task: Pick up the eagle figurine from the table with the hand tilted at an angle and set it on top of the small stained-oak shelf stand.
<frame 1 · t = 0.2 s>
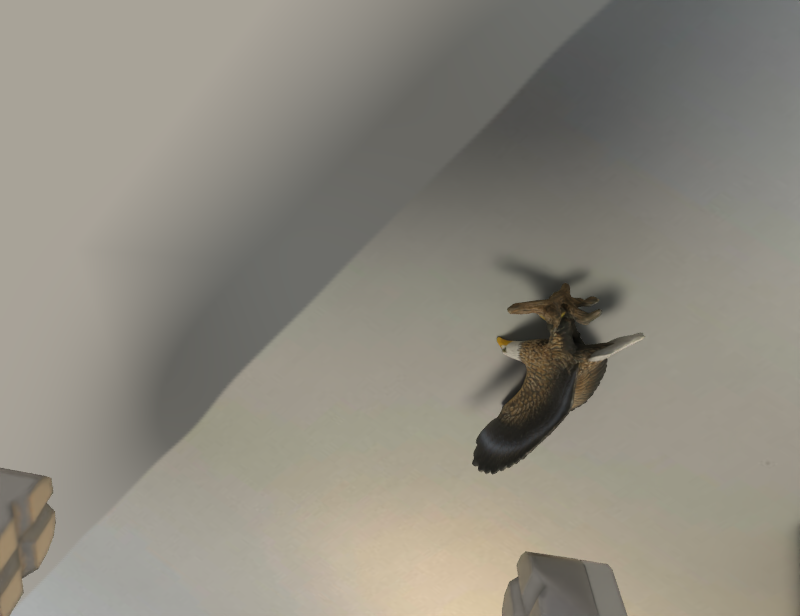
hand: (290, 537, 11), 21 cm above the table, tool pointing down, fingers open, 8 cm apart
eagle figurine: (535, 346, 34), on the table
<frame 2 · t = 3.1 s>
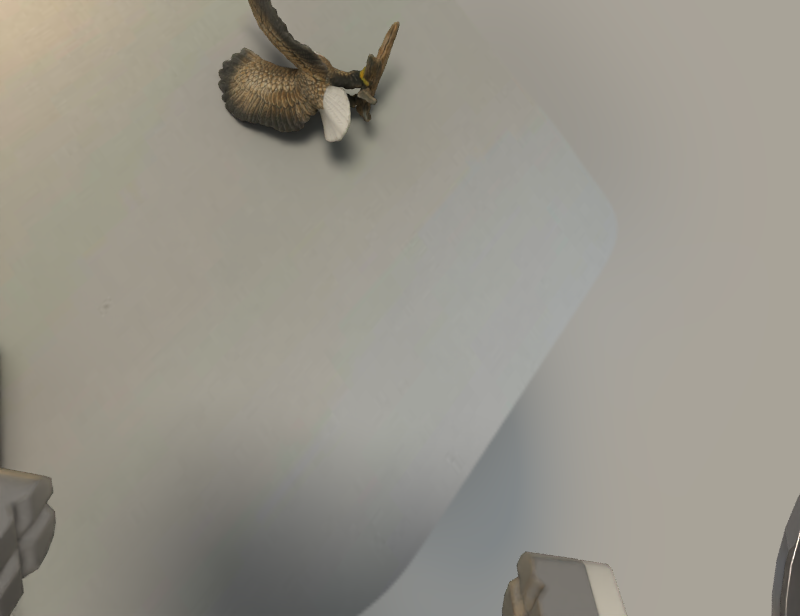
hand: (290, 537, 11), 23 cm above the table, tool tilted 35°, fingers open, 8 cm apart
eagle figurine: (303, 91, 37), on the table
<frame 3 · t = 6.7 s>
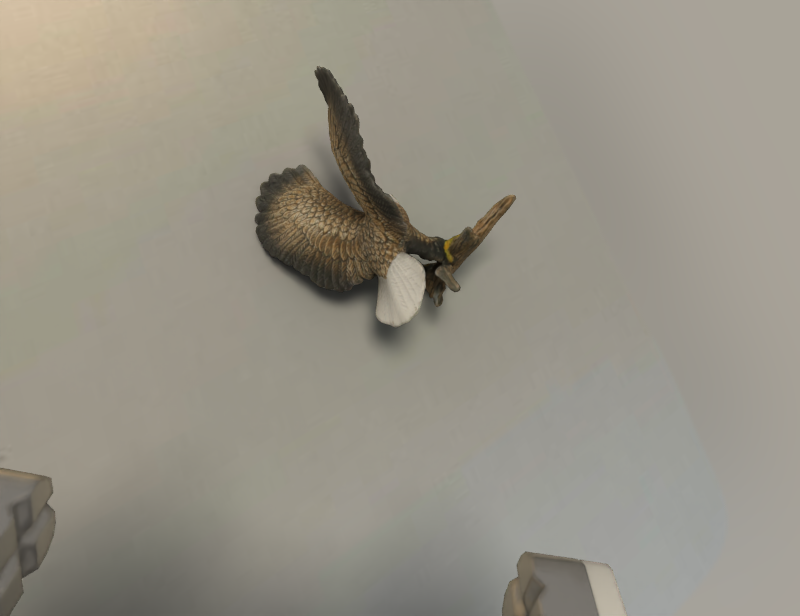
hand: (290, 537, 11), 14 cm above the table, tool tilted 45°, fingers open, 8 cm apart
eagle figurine: (361, 237, 28), on the table
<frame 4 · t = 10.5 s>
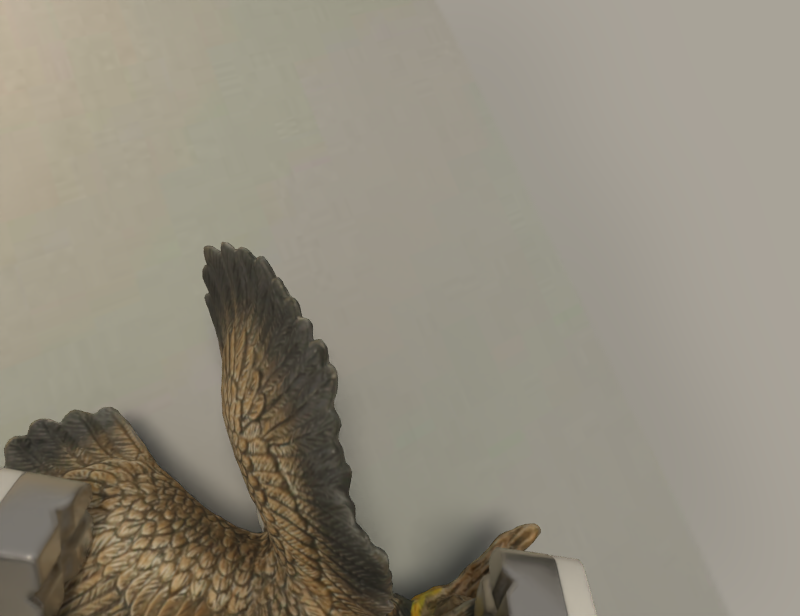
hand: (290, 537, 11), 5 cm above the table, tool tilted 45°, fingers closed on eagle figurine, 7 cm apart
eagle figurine: (211, 561, 14), point 1 cm above the table, touching gripper
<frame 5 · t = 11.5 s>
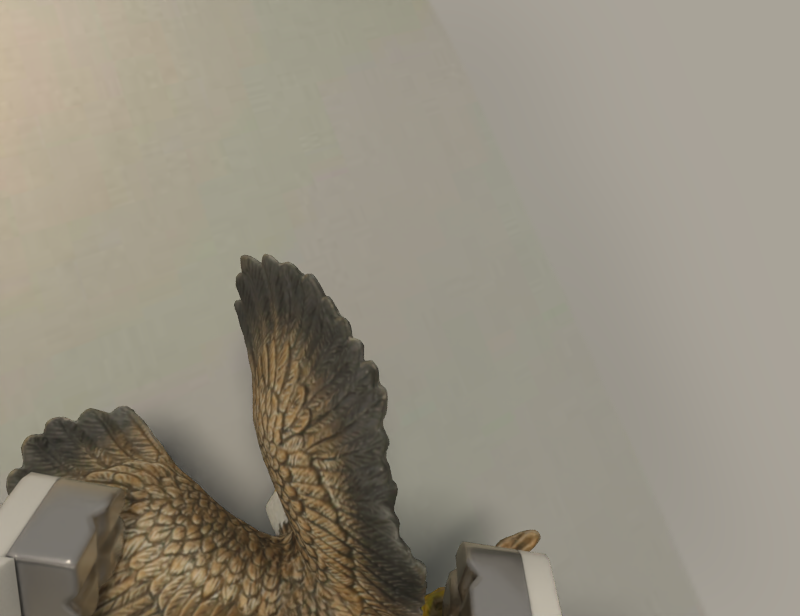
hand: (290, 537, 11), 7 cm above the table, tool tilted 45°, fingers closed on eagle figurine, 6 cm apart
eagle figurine: (220, 560, 14), point 3 cm above the table, touching gripper
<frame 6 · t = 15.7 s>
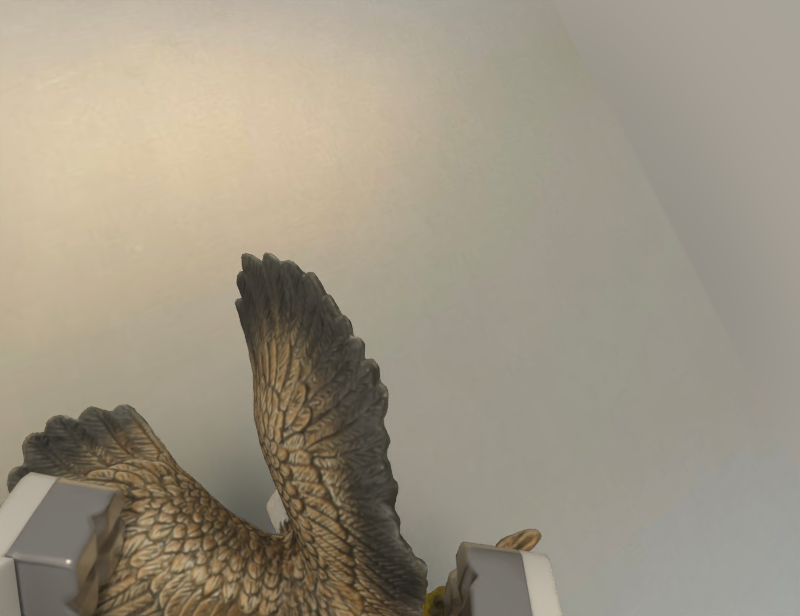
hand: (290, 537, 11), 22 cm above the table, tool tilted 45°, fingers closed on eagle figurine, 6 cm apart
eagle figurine: (221, 559, 14), point 18 cm above the table, touching gripper
when the fingers open (15 cm above the table, at t = 19.9 s): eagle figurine stays where it is, resting on shelf.
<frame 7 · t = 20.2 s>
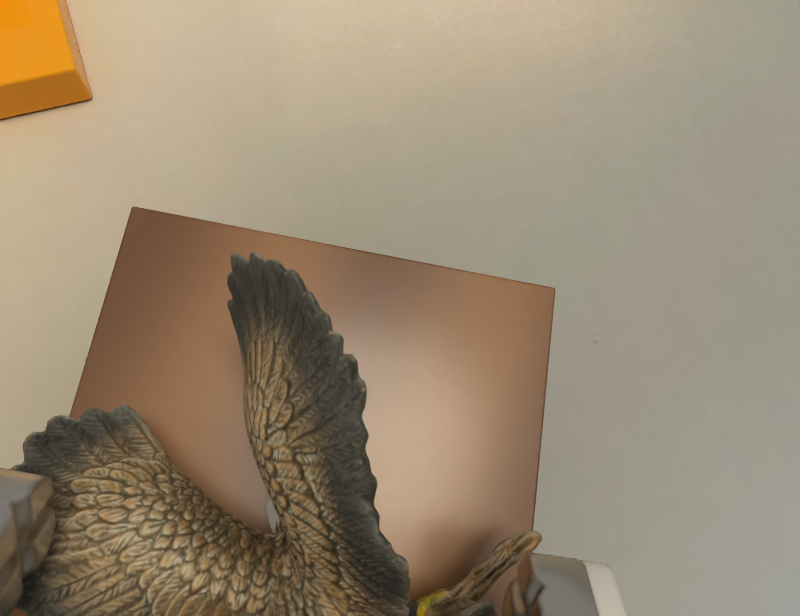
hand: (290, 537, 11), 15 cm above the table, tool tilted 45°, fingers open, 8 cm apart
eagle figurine: (220, 559, 15), point 11 cm above the table, touching shelf
shelf: (300, 524, 25), on the table
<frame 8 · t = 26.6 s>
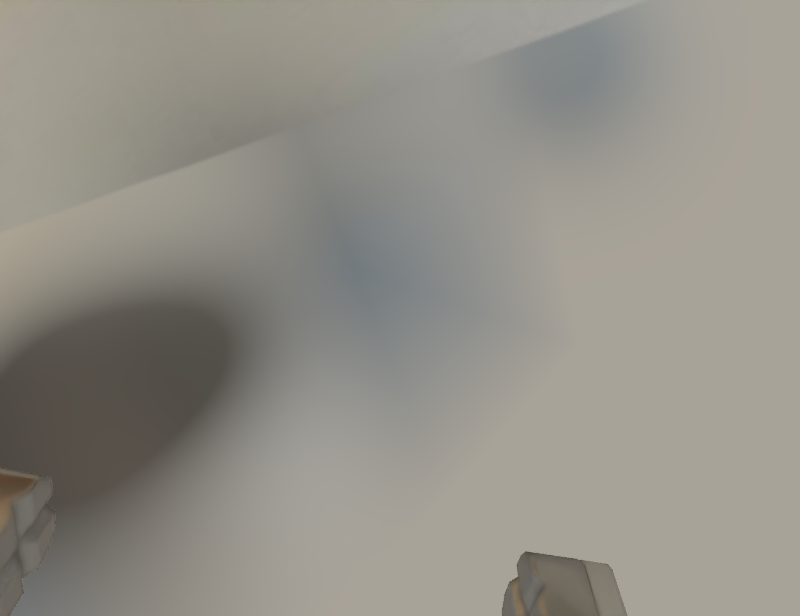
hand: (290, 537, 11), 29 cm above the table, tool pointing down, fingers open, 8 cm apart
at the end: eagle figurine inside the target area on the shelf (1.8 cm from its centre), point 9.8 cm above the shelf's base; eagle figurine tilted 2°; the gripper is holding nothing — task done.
